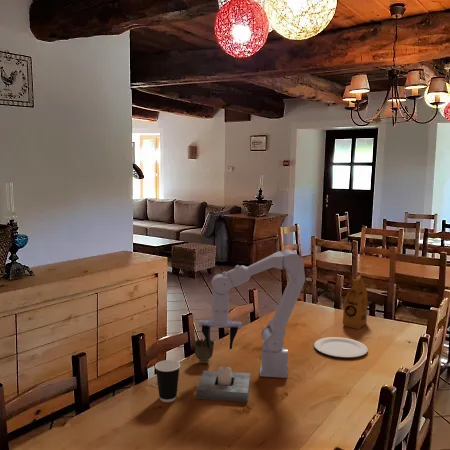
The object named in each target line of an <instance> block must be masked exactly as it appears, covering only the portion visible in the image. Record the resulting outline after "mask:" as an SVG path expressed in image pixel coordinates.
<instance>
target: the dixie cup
mask: <svg viewBox="0 0 450 450" xmlns="http://www.w3.org/2000/svg"><path fill="white" fill-rule="evenodd" d="M154 368H155V372H156V373H155V374H156V380H157V381H156V383H157V388H158V396H159V398H160V399H159V400H160V401H161V402H164V403H173V402H174V401H175V400H176V397H177V395H178V386H179V384H178V383H179V376H180V368H181V363H180V362H179V361H177V360H173V359H172V360H171V359H165V360H161V361H158V362H157V363H155V365H154Z"/></svg>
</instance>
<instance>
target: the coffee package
mask: <svg viewBox="0 0 450 450" xmlns="http://www.w3.org/2000/svg"><path fill="white" fill-rule="evenodd" d="M349 283H352V286H351V287H350V291H348V292H347V294H346V296H345V297H344V299H343V300H344V301H343V307H342V308H343V313H342V325H343V326H344V327H347V328H352V329H356V330H360V329H361V328H362V327H365V326H366V324H367V316H368V314H367V313H368V289H367V287H366V284H365V282H364V280H363V278H362V276H361V275H357V276H356V279H354V278H353V279H351V280H350V281H349Z"/></svg>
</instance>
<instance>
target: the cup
mask: <svg viewBox="0 0 450 450" xmlns="http://www.w3.org/2000/svg"><path fill="white" fill-rule="evenodd" d="M214 341H215V340H212V339H210V348H208V347H207V342H206V339H205V338H204V340H203V338H201V339H199V338H197V340H196V339H195V340H194V342H193V348H194V354H195V358H196V359H198V363H199V364H201V365H206V364H207V365H208V363H209V362H210V359H211V358H212V357H213V352H214V345H215V342H214Z"/></svg>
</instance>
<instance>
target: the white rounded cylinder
mask: <svg viewBox="0 0 450 450" xmlns="http://www.w3.org/2000/svg"><path fill="white" fill-rule="evenodd" d="M232 370H233V369H232V368H231V367H230V366H226V365H225V366H224V365H223V366H219V367H218V368H217V371H218V385H226V386H231V374H232V372H233V371H232Z"/></svg>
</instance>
